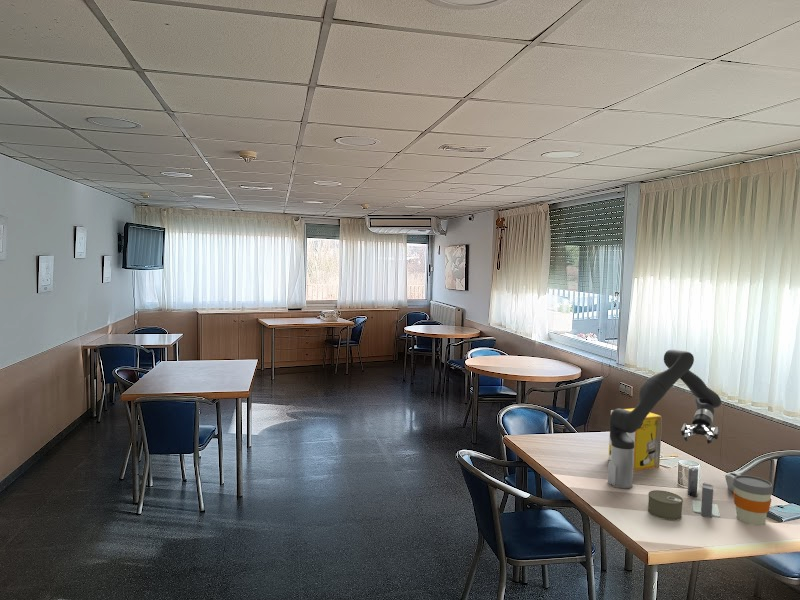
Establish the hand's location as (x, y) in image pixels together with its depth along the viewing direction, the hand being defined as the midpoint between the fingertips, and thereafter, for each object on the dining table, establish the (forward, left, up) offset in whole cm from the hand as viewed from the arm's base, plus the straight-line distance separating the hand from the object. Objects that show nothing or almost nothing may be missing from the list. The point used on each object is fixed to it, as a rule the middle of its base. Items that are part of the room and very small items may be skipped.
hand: (697, 440), depth 231 cm
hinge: (+13, -12, -21) cm, 27 cm away
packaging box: (-12, +28, -20) cm, 37 cm away
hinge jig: (-12, -23, -20) cm, 33 cm away
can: (-31, -25, -20) cm, 45 cm away
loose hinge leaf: (-7, -8, -20) cm, 23 cm away
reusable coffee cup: (0, -32, -20) cm, 38 cm away
